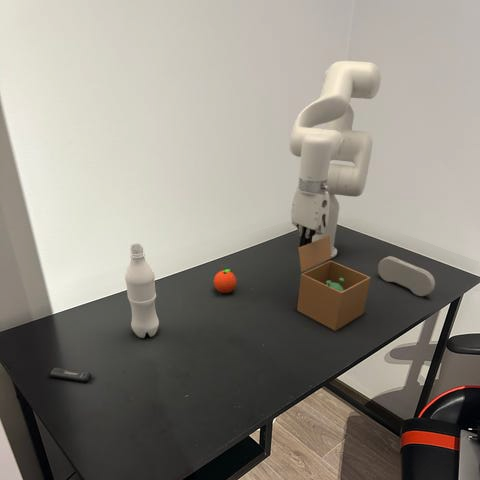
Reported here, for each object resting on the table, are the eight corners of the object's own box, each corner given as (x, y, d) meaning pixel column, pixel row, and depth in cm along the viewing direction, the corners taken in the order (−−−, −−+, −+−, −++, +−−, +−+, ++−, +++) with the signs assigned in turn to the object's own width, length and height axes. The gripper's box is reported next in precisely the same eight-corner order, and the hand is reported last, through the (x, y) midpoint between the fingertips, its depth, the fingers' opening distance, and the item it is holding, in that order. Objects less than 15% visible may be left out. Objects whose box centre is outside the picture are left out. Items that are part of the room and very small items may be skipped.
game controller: (431, 298, 140) (439, 274, 135) (427, 300, 138) (434, 276, 134) (379, 274, 152) (384, 252, 147) (375, 276, 151) (380, 253, 146)
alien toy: (326, 318, 128) (331, 288, 122) (314, 305, 134) (318, 275, 128) (348, 315, 129) (353, 284, 124) (335, 301, 136) (340, 272, 130)
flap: (301, 271, 125) (300, 271, 125) (331, 258, 132) (330, 258, 133) (299, 248, 122) (298, 247, 122) (329, 235, 130) (328, 235, 130)
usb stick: (49, 377, 104) (48, 372, 104) (55, 370, 107) (54, 365, 106) (87, 384, 103) (86, 378, 102) (92, 376, 105) (91, 371, 104)
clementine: (221, 282, 144) (221, 262, 141) (241, 287, 142) (241, 267, 138) (209, 294, 138) (209, 273, 134) (230, 299, 136) (230, 278, 132)
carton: (296, 310, 132) (300, 274, 125) (325, 295, 139) (330, 260, 133) (335, 331, 123) (341, 293, 117) (363, 313, 131) (370, 277, 125)
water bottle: (164, 328, 122) (157, 242, 109) (151, 342, 117) (142, 254, 103) (140, 322, 124) (130, 238, 110) (127, 337, 119) (114, 249, 105)
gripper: (343, 189, 117) (333, 253, 127) (300, 176, 126) (294, 237, 136) (325, 194, 113) (317, 261, 123) (282, 180, 122) (277, 243, 132)
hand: (305, 248), depth 129 cm, fingers closed
